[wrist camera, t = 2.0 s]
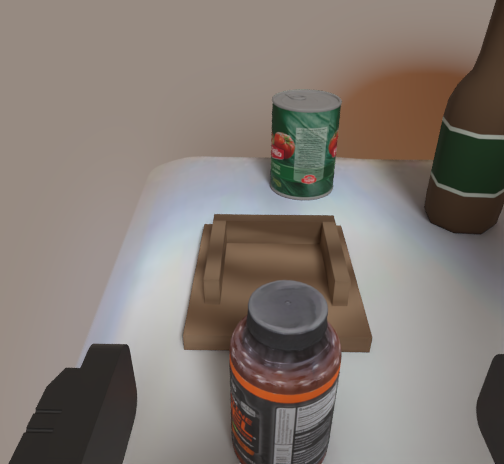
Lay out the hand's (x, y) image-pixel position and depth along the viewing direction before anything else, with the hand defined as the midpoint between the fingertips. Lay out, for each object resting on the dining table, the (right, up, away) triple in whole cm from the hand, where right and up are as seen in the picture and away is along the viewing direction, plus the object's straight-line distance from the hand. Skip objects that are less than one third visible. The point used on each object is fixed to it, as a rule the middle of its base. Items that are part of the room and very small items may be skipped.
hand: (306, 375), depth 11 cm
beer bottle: (+22, +5, +43) cm, 48 cm away
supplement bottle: (0, -10, +19) cm, 21 cm away
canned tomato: (+5, +9, +49) cm, 50 cm away
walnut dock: (+1, -2, +32) cm, 32 cm away
